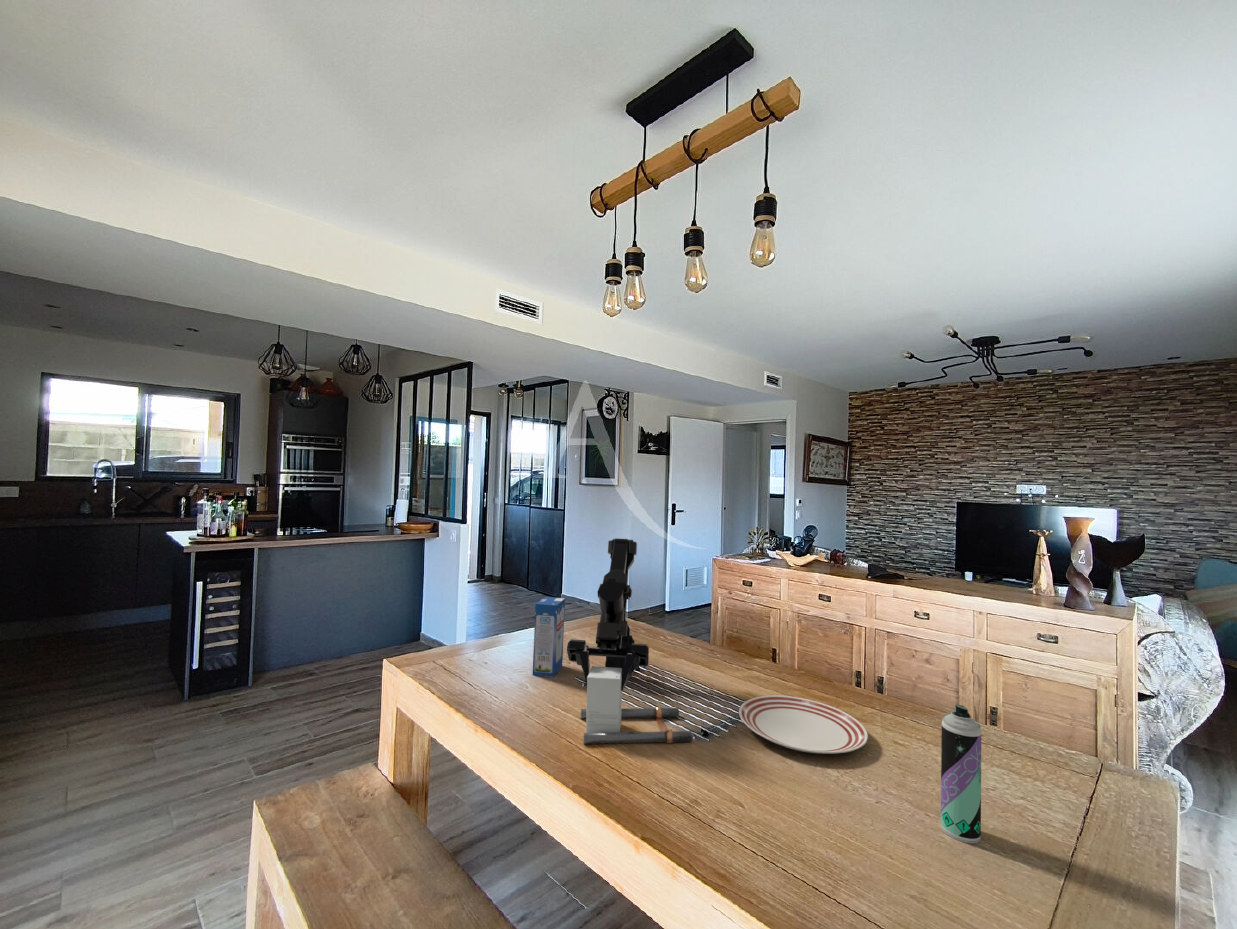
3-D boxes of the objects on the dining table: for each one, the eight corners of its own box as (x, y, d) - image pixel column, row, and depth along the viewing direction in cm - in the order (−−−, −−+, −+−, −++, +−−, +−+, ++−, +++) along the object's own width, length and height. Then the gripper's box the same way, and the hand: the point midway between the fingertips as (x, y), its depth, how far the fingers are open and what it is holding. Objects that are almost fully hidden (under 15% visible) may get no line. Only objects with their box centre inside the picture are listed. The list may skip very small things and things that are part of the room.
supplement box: (621, 723, 121) (623, 667, 121) (618, 738, 113) (620, 678, 114) (589, 721, 121) (591, 665, 122) (584, 736, 114) (586, 676, 115)
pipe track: (583, 747, 110) (584, 734, 110) (580, 717, 124) (581, 705, 124) (692, 745, 112) (692, 732, 112) (676, 715, 127) (676, 704, 127)
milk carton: (542, 663, 159) (545, 596, 160) (562, 665, 158) (565, 598, 159) (532, 675, 149) (535, 603, 150) (553, 677, 148) (556, 605, 149)
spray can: (932, 821, 88) (934, 699, 89) (963, 821, 89) (964, 699, 90) (956, 843, 83) (957, 713, 84) (989, 843, 83) (990, 713, 84)
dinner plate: (884, 735, 120) (885, 720, 120) (839, 781, 100) (839, 763, 100) (772, 699, 139) (772, 686, 139) (715, 732, 119) (715, 716, 119)
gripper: (570, 604, 123) (558, 668, 112) (650, 609, 122) (647, 674, 110) (574, 629, 131) (564, 692, 119) (649, 634, 129) (646, 698, 118)
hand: (604, 688), depth 116 cm, fingers closed on supplement box, 7 cm apart
